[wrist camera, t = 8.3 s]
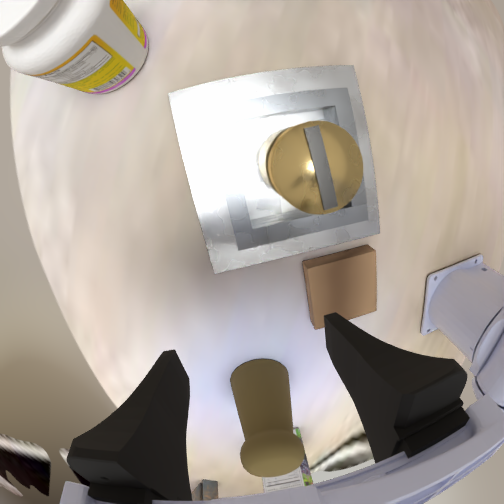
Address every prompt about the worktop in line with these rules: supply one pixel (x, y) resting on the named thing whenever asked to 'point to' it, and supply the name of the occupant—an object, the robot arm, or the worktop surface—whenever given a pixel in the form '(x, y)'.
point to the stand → (341, 284)
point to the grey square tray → (247, 167)
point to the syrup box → (290, 475)
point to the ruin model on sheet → (206, 491)
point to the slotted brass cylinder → (312, 166)
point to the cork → (266, 418)
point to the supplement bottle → (73, 42)
